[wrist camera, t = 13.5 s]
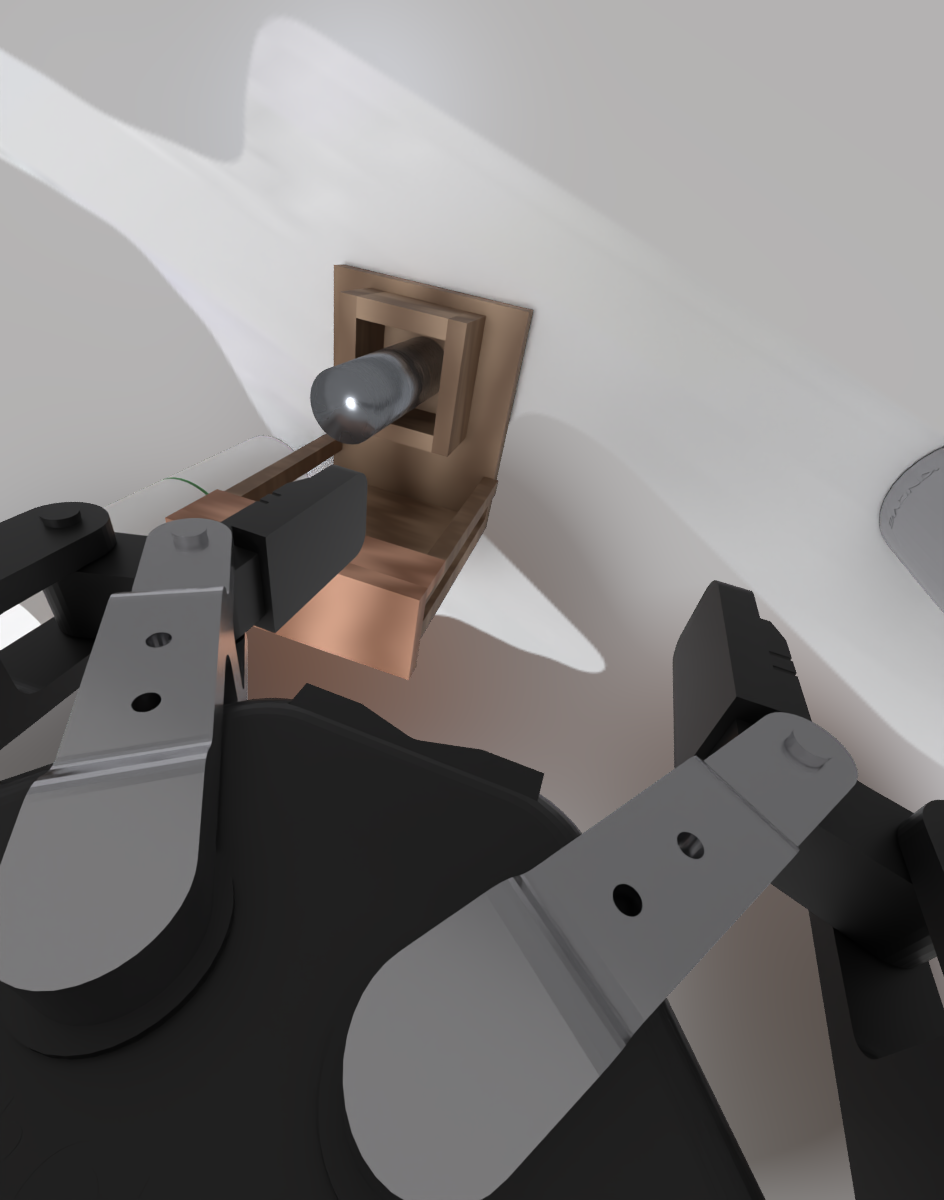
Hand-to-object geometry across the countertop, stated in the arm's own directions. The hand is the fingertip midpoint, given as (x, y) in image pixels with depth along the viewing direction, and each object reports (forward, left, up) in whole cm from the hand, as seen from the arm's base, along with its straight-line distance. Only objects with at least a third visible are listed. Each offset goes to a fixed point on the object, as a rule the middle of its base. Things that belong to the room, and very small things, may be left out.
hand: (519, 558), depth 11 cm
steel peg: (+12, +3, -27) cm, 30 cm away
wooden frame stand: (+12, +7, -29) cm, 32 cm away
